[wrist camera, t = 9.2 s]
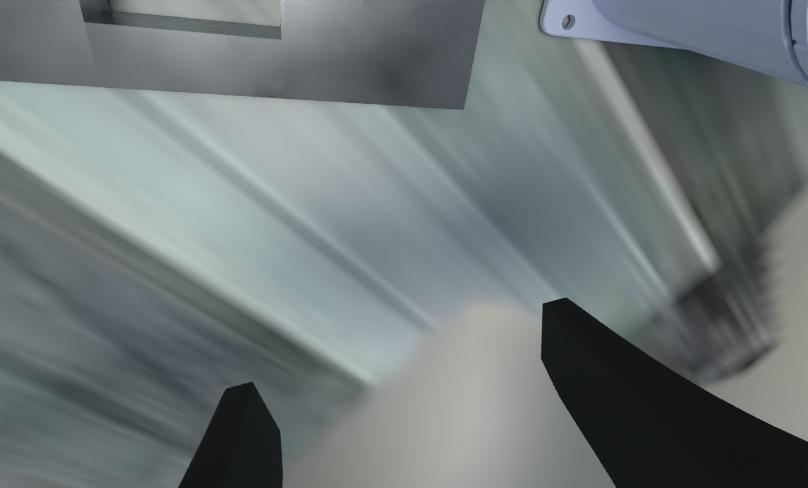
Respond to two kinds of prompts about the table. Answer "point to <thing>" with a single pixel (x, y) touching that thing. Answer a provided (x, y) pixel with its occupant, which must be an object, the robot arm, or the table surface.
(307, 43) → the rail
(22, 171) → the table surface
